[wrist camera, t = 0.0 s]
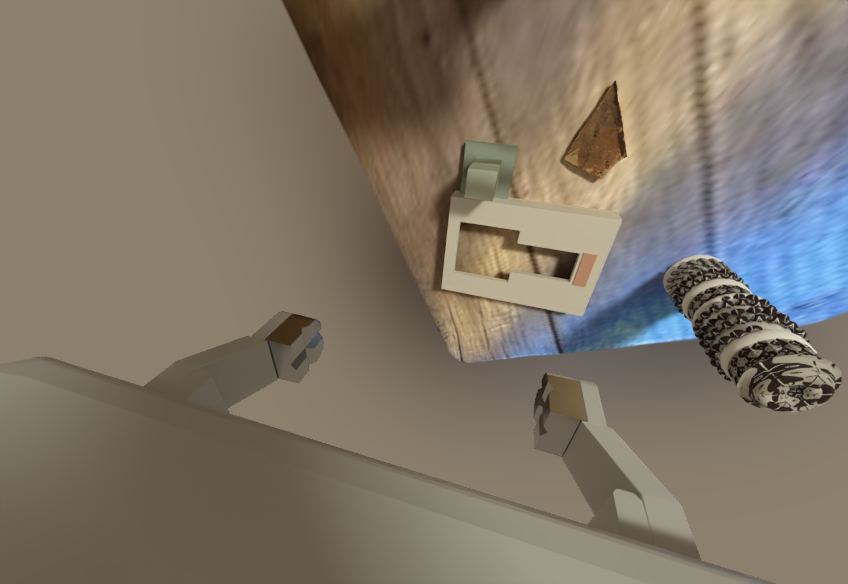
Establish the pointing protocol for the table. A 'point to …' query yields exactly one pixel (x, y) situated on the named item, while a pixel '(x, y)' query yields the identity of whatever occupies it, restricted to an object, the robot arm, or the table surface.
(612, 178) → the table surface
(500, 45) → the table surface
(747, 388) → the decorative candle
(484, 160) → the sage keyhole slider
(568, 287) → the keyhole plate
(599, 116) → the shard
